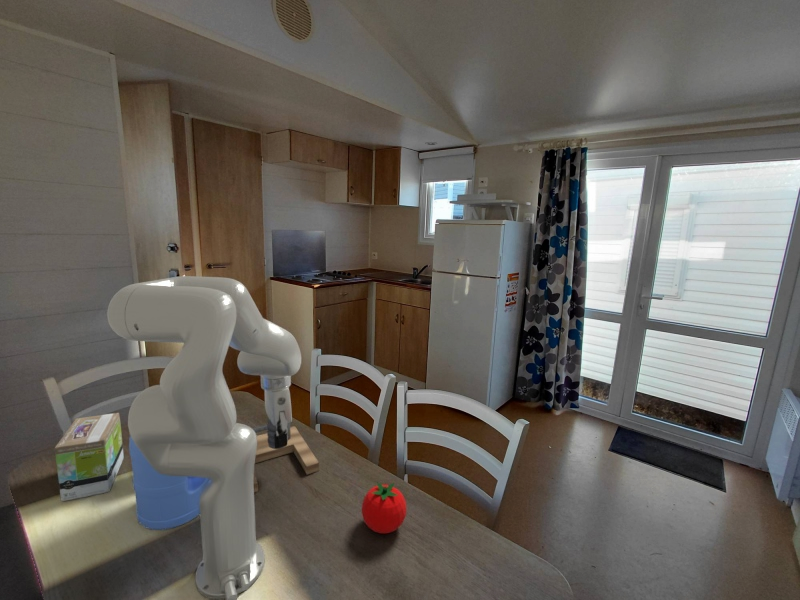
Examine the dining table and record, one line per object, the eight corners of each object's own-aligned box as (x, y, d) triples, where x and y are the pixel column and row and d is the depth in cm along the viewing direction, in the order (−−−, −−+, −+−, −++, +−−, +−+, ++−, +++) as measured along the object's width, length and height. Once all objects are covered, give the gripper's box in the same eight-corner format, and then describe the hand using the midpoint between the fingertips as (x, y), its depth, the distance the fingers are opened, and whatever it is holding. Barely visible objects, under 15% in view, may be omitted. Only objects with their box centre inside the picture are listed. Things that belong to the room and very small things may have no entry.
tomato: (376, 502, 94) (377, 468, 91) (413, 519, 89) (415, 482, 87) (352, 532, 84) (353, 494, 82) (392, 552, 80) (394, 512, 78)
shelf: (318, 470, 105) (318, 462, 104) (243, 496, 94) (243, 487, 93) (294, 432, 123) (294, 425, 122) (229, 450, 112) (229, 443, 111)
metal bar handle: (293, 441, 114) (293, 423, 112) (245, 455, 106) (244, 435, 105) (290, 436, 116) (290, 418, 115) (242, 449, 109) (242, 430, 107)
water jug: (136, 543, 79) (122, 424, 73) (138, 497, 92) (126, 393, 86) (216, 514, 88) (209, 406, 82) (208, 476, 100) (201, 380, 95)
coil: (290, 445, 101) (290, 422, 100) (270, 451, 98) (269, 428, 97) (285, 435, 106) (284, 413, 104) (265, 441, 103) (264, 418, 101)
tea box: (111, 492, 93) (104, 439, 90) (60, 503, 89) (51, 448, 86) (125, 457, 107) (119, 410, 104) (81, 466, 102) (73, 417, 99)
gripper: (300, 389, 93) (301, 453, 97) (281, 365, 107) (282, 422, 111) (269, 396, 89) (272, 462, 93) (253, 370, 103) (256, 429, 107)
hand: (277, 440), depth 102 cm, fingers closed on coil, 5 cm apart
